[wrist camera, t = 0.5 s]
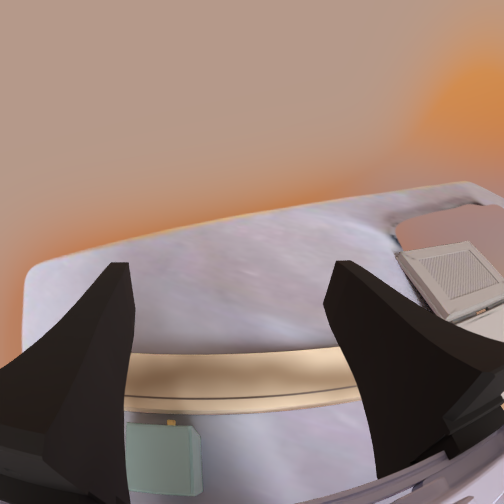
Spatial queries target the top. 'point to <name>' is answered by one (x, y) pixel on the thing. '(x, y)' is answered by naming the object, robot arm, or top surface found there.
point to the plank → (238, 382)
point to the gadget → (459, 286)
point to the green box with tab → (163, 459)
